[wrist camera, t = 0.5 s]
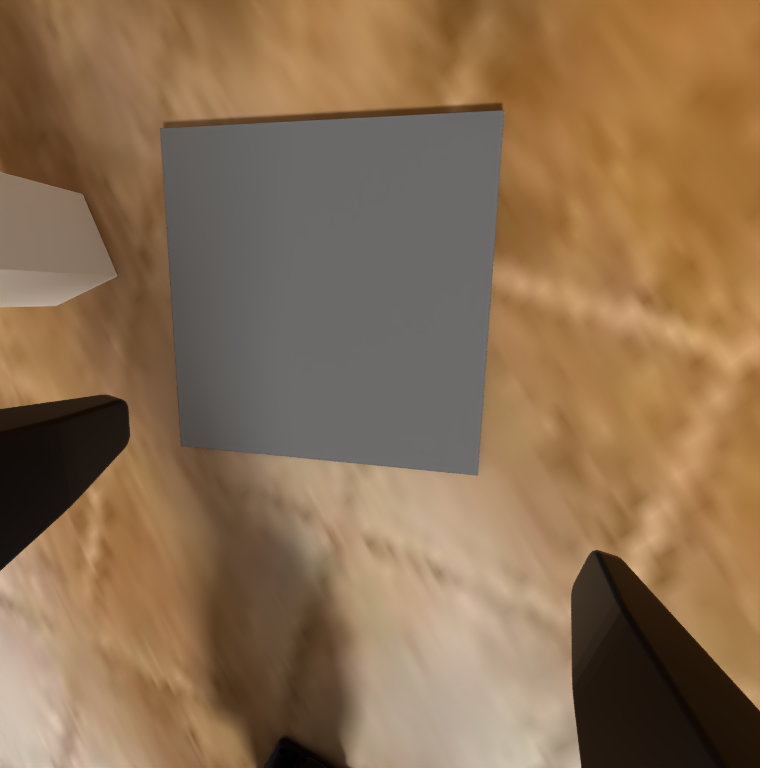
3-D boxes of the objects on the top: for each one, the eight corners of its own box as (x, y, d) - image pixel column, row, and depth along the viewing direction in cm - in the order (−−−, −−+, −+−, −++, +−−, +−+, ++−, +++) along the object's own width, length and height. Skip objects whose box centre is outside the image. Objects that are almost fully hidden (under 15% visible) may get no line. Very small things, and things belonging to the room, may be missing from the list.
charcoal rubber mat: (477, 472, 22) (477, 475, 21) (185, 443, 25) (181, 445, 24) (503, 114, 19) (504, 110, 18) (165, 131, 22) (160, 128, 21)
